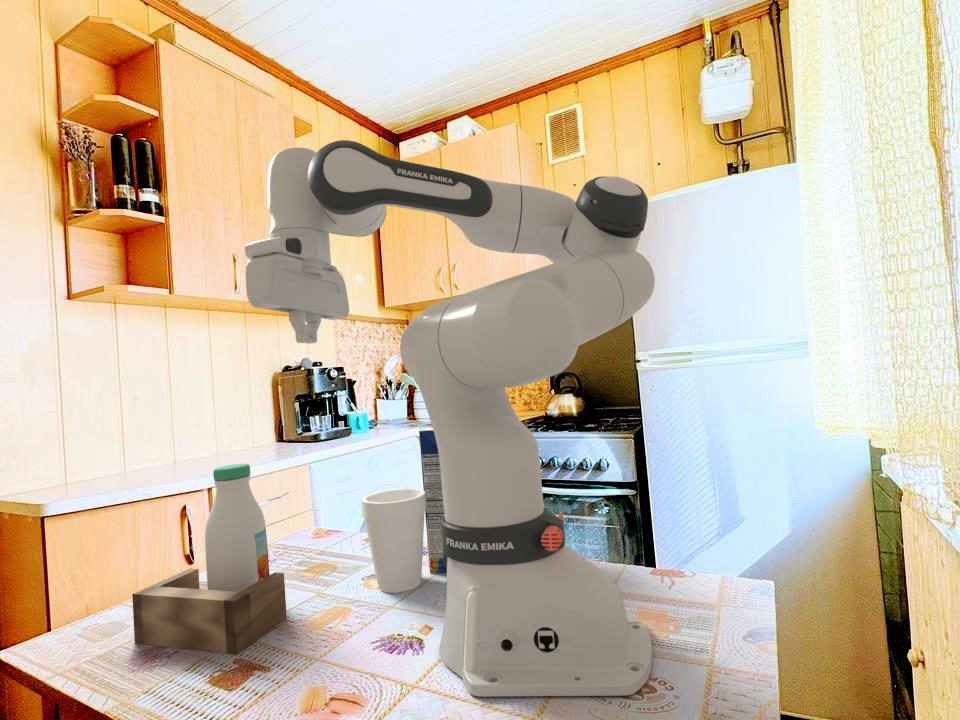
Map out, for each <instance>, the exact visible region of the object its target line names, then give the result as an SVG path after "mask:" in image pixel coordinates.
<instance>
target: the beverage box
mask: <svg viewBox="0 0 960 720" xmlns="http://www.w3.org/2000/svg"><path fill="white" fill-rule="evenodd" d="M418 433H419V445H420V446H419V447H420V448H419V449H420V459H421V460H420V461H421V474H422V475H421V476H422V485H423V489H422V490H423V491H425V499H426V510H425V512H424V516H425V525H426V540H427V552H428V566H429V574H447V568H446V567H445V565H444V558H443V552H442V542H441V533H442V531H441V519H442V517H443V516H444V504H443V493H442V482H441V472H440V461H439V453H438V447H437V442H436V438H435V434H434V431H433V427H432V426H430V427H427V428H425V429H422V430H419V431H418Z"/></svg>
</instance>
